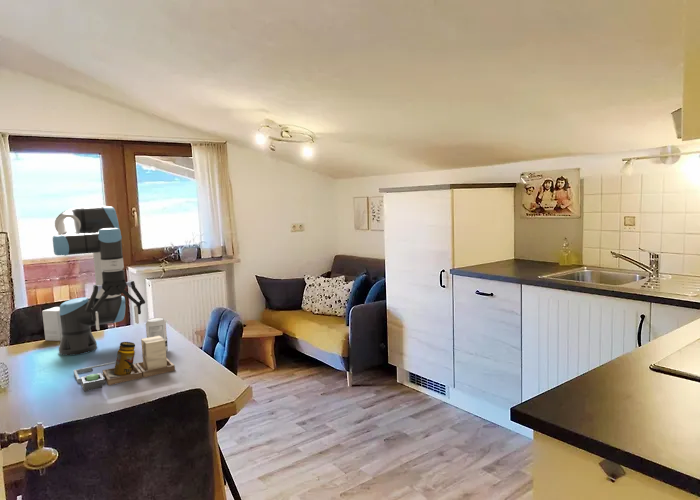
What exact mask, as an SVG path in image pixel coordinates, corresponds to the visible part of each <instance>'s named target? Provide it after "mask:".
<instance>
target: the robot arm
mask: <svg viewBox="0 0 700 500" xmlns="http://www.w3.org/2000/svg"><path fill="white" fill-rule="evenodd" d="M54 228H55V230H56V232H58V233H57V235H56V234H55V235H54V236H53V237H52V245H53V254H54V255H55V256H63V257H64V256H70V255H71V256H72V255H82V254H92V255H93V266H94V275H95V276H94V277H95V284H94V285H93V288H92V289H93V290H92V293H91V294H90V297H89V298H88V297H87V296H86V297H85V296H84V297H78V298H77V297H76V298H73V299H68V300H66V301H64V302H62V303H61V304H60V305H59V307H60V314H59V315H60V319H61V330H62V338H61V341H59V342H60V344H59V346H58V353H59V355H61V356H77V355H82V354H87V353H90V352H93V351H95V350H96V349H97V348H98V345H97V341H96V338H95V337H94V335H93V333H92V329H91V327H92V326H93V327H94V326H95V330H97V331H100V325H107V324H114V323H118V322H119V323H120V322H122V321H124V318H125V316H126V315H125V314H126V298H128V299H129V300H131V302H132V303H133V304H135V305H133V310H134V311H133V313H134V321H135V322H134V323H136V324H138V325H139V324H140V319H139V315H141V313H142V310H141V309H142V308H141V306H142V305H144V304H146V300H145V299H144V297H143V296H142V295H141V293H140V291H139V290H138V288H137V287H136V283H135V281H133V279H132V280H131V279H130V280H129V281H126V275H125V270H124V268H125V266H124V265H125V263H124V256H123V243H122V238H123V237H122V232H121V229H120V224H119V219H118V215H117V211H116V209H115V207H114V206H109V205H96V206H78V207H77V206H76V207H71V208H69V209H66V210H64V211H62V212H61V213H60V214H58V216H57V217H56V218H55V221H54ZM127 286H128V287H130V288H131V289H132V291H133V292H134V294H135V296H136V297H137V298H138V300H139V301H138V300H137V299H136V298H134V296H132V295H131V294H130V293H129V292H127V291H126V290H125V289H126V288H127ZM122 294H124V295H122ZM125 296H126V298H125Z"/></svg>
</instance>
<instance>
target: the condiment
mask: <svg viewBox="0 0 700 500" xmlns="http://www.w3.org/2000/svg"><path fill="white" fill-rule="evenodd" d="M135 348H136V344H135V343H134V342H131V341H122V342H120V343H119V347H118V349H117V353H116V358H115V362H116V363H114V364H115V365H114V368H115V369H114V371H110V370H106V369H105V370H106V371H107V374H108V376H109V377H111V376H112V377H114V376H115V377H120V376H125V375H129V374H131V371H132V365H133V364H134V359H135V355H136V354H135V353H136V352H135V351H136V350H135Z"/></svg>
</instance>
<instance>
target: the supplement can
mask: <svg viewBox="0 0 700 500" xmlns="http://www.w3.org/2000/svg"><path fill="white" fill-rule="evenodd" d="M145 333H146V338H149V337H154V336H161V337H162V338H163V339H164V340H165V346H166V353H167V352H168V351H169V348H168V334H167V321H166V320H165V318H164V317H153V318H152V317H151V318H149V319H146V323H145Z"/></svg>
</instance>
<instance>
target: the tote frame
mask: <svg viewBox="0 0 700 500" xmlns="http://www.w3.org/2000/svg"><path fill="white" fill-rule="evenodd" d="M115 363H116V361H111V362H106V363H102V364H97V365H92V366H87V367H82V368H78V369H73V375H74V377H75V380H76V382H77V383H78V384H80V383H81V377H80V375H79V374H82V373H87V372H92V371H94V368H99V367H102V366H106V365H107V366H108V365H113V364H115ZM102 375H103V373H102Z"/></svg>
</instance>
